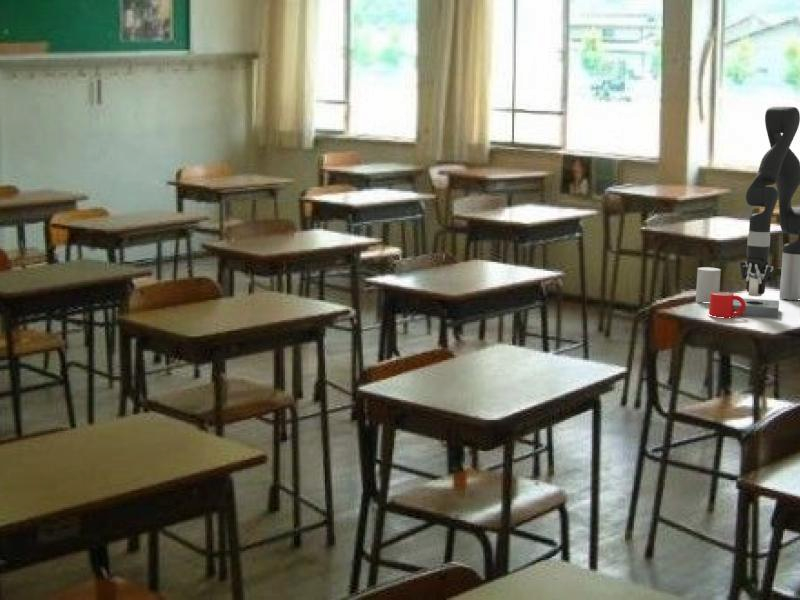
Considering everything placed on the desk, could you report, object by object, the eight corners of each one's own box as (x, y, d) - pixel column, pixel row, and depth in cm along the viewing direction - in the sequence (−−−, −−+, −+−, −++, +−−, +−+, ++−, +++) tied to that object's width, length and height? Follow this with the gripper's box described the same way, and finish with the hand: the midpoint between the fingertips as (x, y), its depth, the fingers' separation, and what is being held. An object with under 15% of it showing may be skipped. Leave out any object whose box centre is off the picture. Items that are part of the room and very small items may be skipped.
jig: (731, 307, 465) (732, 297, 465) (778, 310, 461) (779, 300, 460) (729, 315, 450) (729, 305, 450) (777, 318, 446) (778, 308, 445)
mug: (744, 320, 442) (745, 297, 441) (708, 317, 445) (709, 294, 444) (745, 316, 449) (746, 293, 448) (709, 313, 453) (710, 291, 451)
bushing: (754, 293, 457) (755, 276, 456) (764, 295, 454) (765, 278, 453) (745, 294, 455) (747, 277, 454) (755, 296, 451) (756, 278, 450)
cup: (720, 303, 472) (722, 270, 470) (698, 303, 472) (700, 270, 470) (715, 299, 480) (717, 267, 478) (693, 299, 480) (695, 267, 478)
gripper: (782, 246, 447) (778, 295, 450) (750, 241, 459) (747, 289, 462) (767, 247, 443) (763, 297, 446) (735, 242, 455) (732, 290, 458)
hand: (755, 292), depth 454 cm, fingers closed on bushing, 4 cm apart
